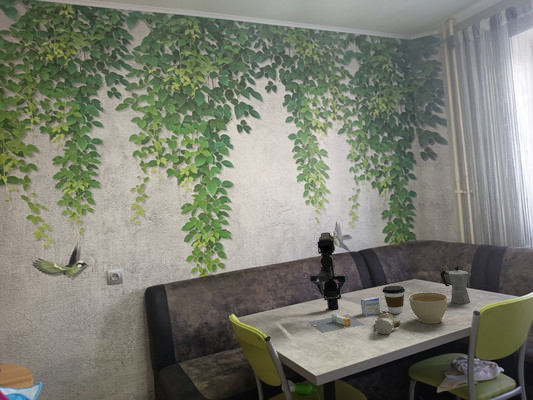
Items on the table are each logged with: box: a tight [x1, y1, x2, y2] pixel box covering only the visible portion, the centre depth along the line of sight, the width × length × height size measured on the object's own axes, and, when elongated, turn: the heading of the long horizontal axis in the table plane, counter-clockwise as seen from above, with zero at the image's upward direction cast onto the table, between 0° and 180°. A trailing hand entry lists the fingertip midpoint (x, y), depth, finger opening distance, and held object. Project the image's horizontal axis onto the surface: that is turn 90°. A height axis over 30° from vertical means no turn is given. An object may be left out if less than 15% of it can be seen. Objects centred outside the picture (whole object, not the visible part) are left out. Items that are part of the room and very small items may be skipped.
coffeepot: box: [439, 266, 472, 305], centre depth 203 cm, size 15×9×18 cm, turn 44°
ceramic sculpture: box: [374, 311, 401, 335], centre depth 173 cm, size 11×9×15 cm
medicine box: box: [360, 296, 381, 317], centre depth 195 cm, size 8×4×9 cm, turn 105°
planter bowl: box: [408, 291, 448, 325], centre depth 179 cm, size 16×16×11 cm
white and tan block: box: [331, 313, 351, 326], centre depth 184 cm, size 11×4×3 cm, turn 30°
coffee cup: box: [381, 285, 406, 315], centre depth 197 cm, size 11×11×12 cm
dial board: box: [308, 314, 365, 334], centre depth 186 cm, size 18×21×2 cm
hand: (330, 295), depth 196 cm, fingers open, 9 cm apart
